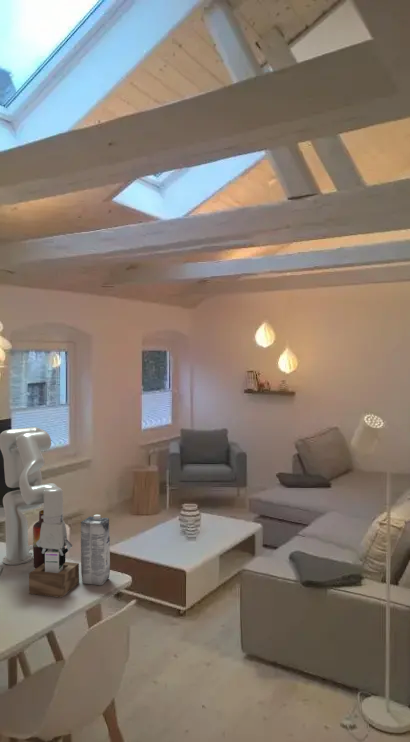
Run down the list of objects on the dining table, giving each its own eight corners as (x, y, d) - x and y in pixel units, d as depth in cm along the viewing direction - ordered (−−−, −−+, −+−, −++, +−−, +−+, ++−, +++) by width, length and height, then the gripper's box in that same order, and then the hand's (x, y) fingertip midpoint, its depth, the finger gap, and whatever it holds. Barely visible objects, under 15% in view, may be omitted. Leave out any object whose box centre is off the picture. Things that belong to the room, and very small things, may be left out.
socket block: (48, 579, 228) (48, 560, 227) (79, 582, 224) (78, 563, 224) (29, 593, 214) (29, 573, 214) (61, 597, 210) (61, 577, 210)
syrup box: (58, 588, 216) (59, 552, 215) (44, 588, 216) (44, 551, 216) (63, 582, 221) (64, 547, 221) (49, 581, 222) (49, 546, 221)
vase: (28, 575, 232) (27, 514, 231) (42, 565, 242) (41, 506, 241) (52, 577, 229) (51, 515, 228) (65, 567, 240) (64, 508, 239)
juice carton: (102, 587, 219) (101, 520, 218) (79, 584, 222) (78, 518, 221) (112, 578, 228) (111, 514, 227) (89, 575, 231) (88, 512, 230)
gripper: (29, 520, 216) (29, 565, 217) (68, 523, 212) (69, 569, 212) (39, 514, 224) (40, 558, 224) (77, 517, 219) (78, 562, 220)
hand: (54, 563), depth 218 cm, fingers closed on syrup box, 6 cm apart
